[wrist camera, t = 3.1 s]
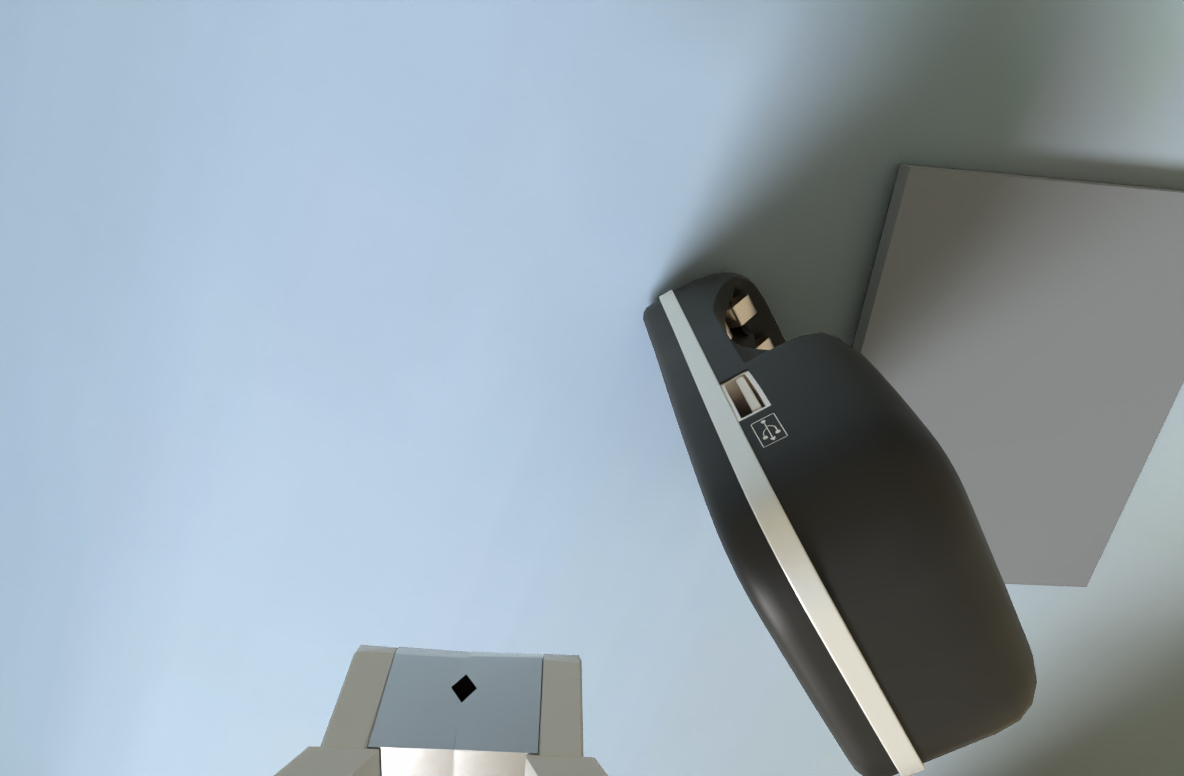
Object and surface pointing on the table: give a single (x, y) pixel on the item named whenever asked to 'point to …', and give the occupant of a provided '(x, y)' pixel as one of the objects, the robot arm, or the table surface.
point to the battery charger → (843, 530)
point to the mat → (1032, 347)
